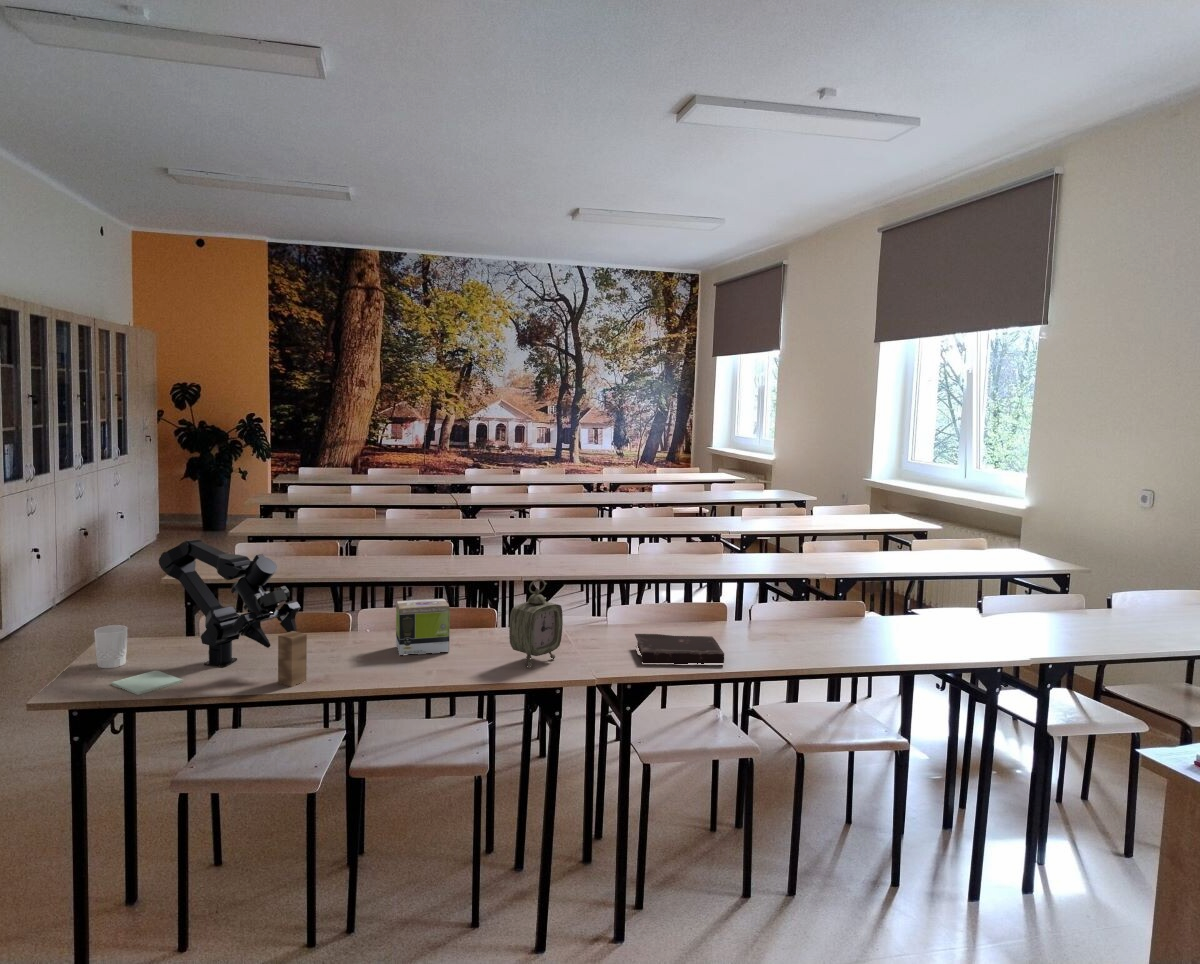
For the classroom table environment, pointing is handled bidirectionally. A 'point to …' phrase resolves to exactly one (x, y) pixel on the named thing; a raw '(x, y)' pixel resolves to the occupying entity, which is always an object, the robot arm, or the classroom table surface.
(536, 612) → the tabletop clock
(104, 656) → the white cup
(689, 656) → the diary
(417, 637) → the tea box
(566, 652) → the classroom table surface
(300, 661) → the walnut block
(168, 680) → the green mat
